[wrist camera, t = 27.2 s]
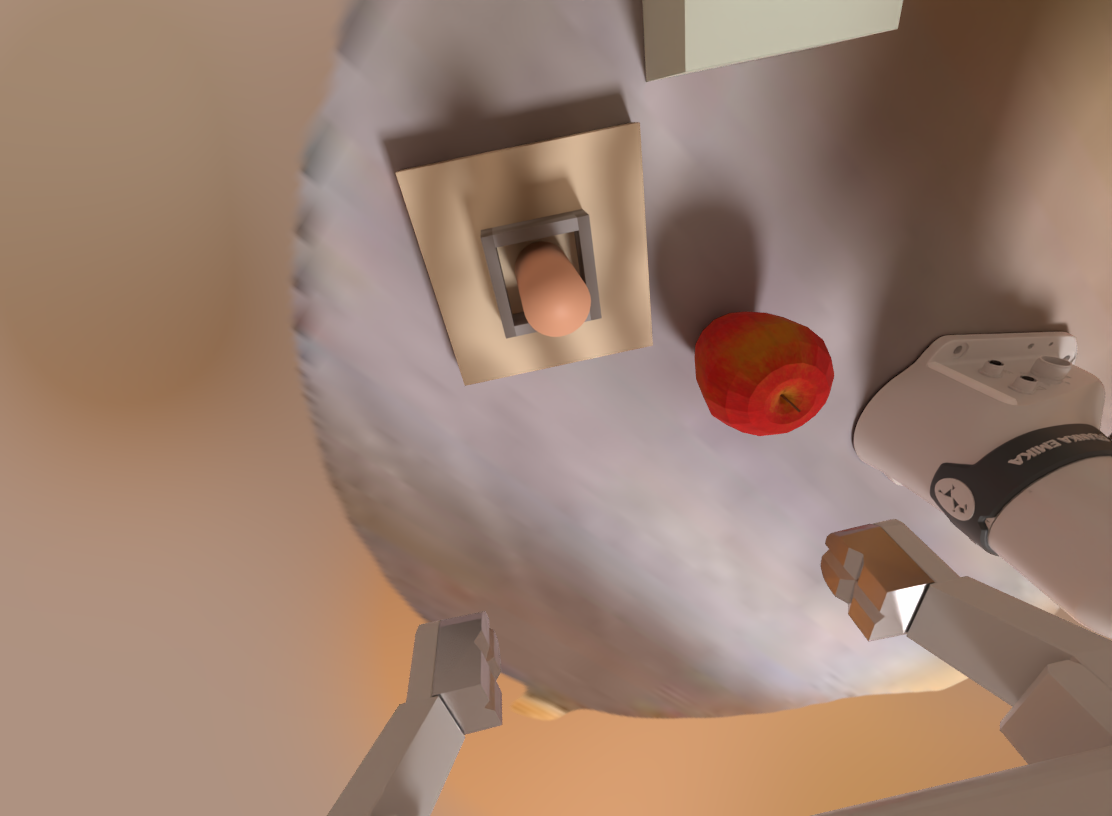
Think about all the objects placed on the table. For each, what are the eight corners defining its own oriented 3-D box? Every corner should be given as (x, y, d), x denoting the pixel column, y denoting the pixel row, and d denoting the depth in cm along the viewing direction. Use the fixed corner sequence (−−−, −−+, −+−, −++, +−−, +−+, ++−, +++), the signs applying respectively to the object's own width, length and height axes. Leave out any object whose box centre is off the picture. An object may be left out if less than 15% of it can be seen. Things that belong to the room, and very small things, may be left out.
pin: (563, 235, 32) (585, 263, 26) (572, 289, 34) (595, 328, 28) (508, 248, 32) (516, 279, 25) (521, 301, 34) (531, 343, 28)
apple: (781, 284, 39) (885, 340, 29) (764, 376, 43) (847, 453, 33) (675, 297, 38) (743, 360, 28) (669, 389, 43) (725, 471, 33)
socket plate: (631, 122, 31) (651, 122, 27) (645, 335, 40) (662, 358, 36) (400, 169, 31) (388, 176, 27) (465, 374, 39) (463, 401, 36)
